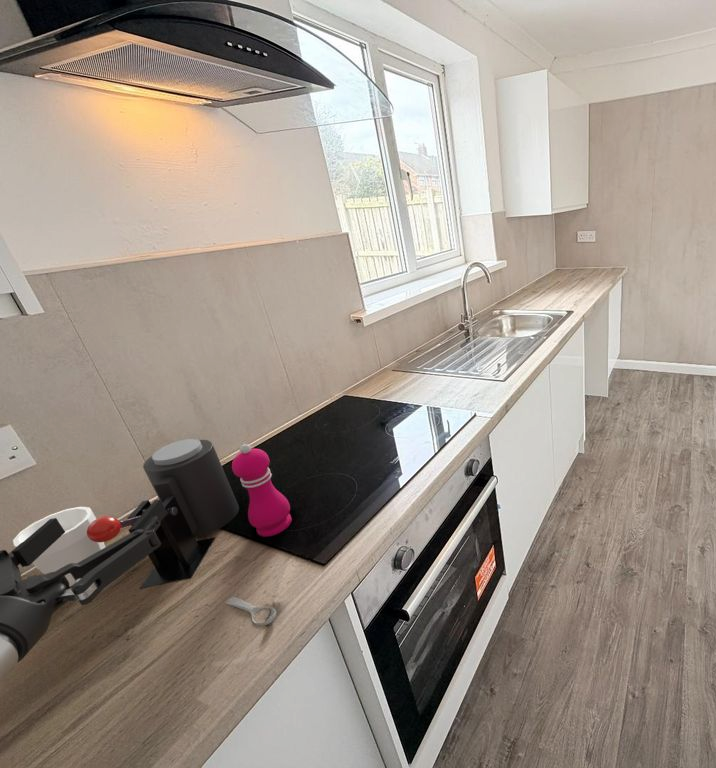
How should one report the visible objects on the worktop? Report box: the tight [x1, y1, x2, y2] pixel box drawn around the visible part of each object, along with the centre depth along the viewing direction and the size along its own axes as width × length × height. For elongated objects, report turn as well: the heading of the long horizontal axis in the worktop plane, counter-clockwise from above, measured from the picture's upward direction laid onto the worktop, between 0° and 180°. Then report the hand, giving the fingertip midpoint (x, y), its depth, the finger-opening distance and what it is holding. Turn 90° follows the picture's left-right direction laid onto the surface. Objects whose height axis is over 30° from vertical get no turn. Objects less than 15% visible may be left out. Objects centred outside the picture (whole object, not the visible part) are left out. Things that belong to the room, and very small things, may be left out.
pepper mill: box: [231, 443, 293, 538], centre depth 79 cm, size 7×7×20 cm
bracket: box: [126, 496, 217, 590], centre depth 73 cm, size 10×8×14 cm
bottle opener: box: [225, 596, 277, 626], centre depth 66 cm, size 3×12×2 cm, turn 67°
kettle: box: [142, 438, 240, 539], centre depth 83 cm, size 16×11×18 cm
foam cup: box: [12, 506, 106, 586], centre depth 72 cm, size 10×9×13 cm
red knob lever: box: [87, 509, 147, 543], centre depth 66 cm, size 14×4×4 cm, turn 13°
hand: (110, 515), depth 62 cm, fingers open, 13 cm apart
